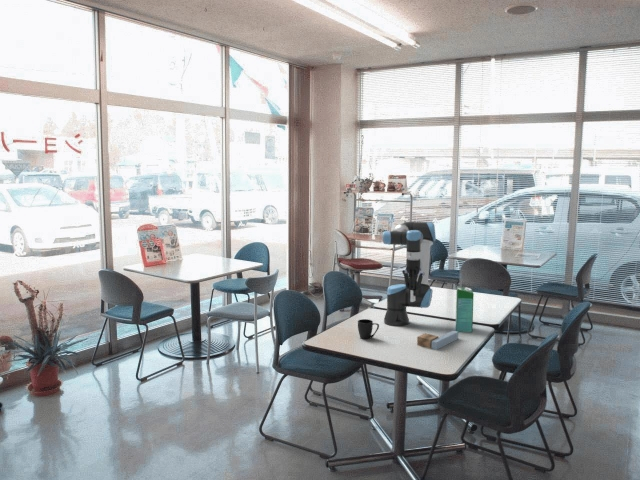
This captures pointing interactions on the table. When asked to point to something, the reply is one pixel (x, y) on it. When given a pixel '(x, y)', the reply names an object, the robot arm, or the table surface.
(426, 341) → the block
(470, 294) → the milk carton
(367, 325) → the mug
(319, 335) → the table surface
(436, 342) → the pale blue bar
